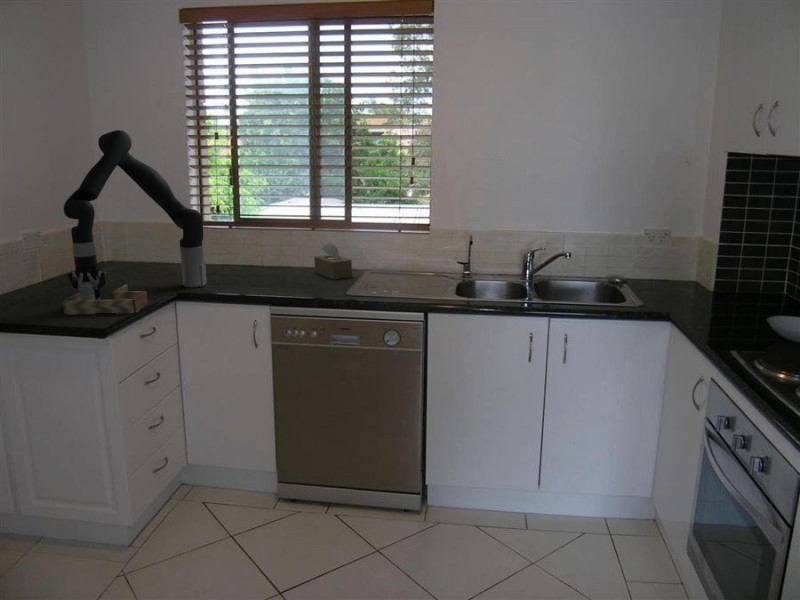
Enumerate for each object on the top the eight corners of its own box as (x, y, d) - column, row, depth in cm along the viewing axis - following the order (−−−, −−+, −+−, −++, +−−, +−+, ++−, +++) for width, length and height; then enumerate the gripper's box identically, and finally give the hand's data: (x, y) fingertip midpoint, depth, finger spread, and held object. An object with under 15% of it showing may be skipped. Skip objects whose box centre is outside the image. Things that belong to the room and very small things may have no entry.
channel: (158, 295, 270) (157, 283, 268) (136, 313, 243) (134, 299, 242) (93, 296, 268) (92, 284, 267) (64, 314, 242) (62, 301, 241)
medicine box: (93, 305, 245) (90, 283, 243) (81, 306, 245) (78, 283, 243) (101, 300, 253) (98, 278, 251) (89, 300, 253) (86, 278, 250)
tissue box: (314, 273, 311) (313, 239, 307) (332, 270, 317) (331, 237, 313) (333, 280, 296) (332, 245, 292) (352, 277, 301) (351, 243, 297)
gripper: (108, 251, 248) (113, 295, 252) (69, 252, 248) (75, 296, 252) (100, 255, 241) (106, 300, 245) (60, 256, 240) (66, 301, 245)
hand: (90, 298), depth 248 cm, fingers closed on medicine box, 4 cm apart
